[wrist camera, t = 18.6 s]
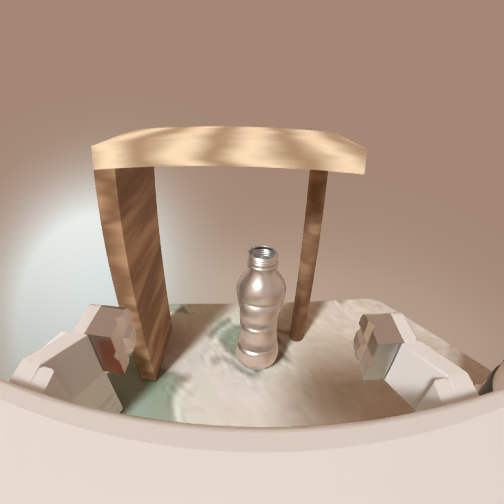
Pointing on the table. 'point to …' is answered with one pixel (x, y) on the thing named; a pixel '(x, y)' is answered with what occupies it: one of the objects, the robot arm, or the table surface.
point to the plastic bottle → (259, 308)
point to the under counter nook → (146, 220)
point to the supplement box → (98, 392)
